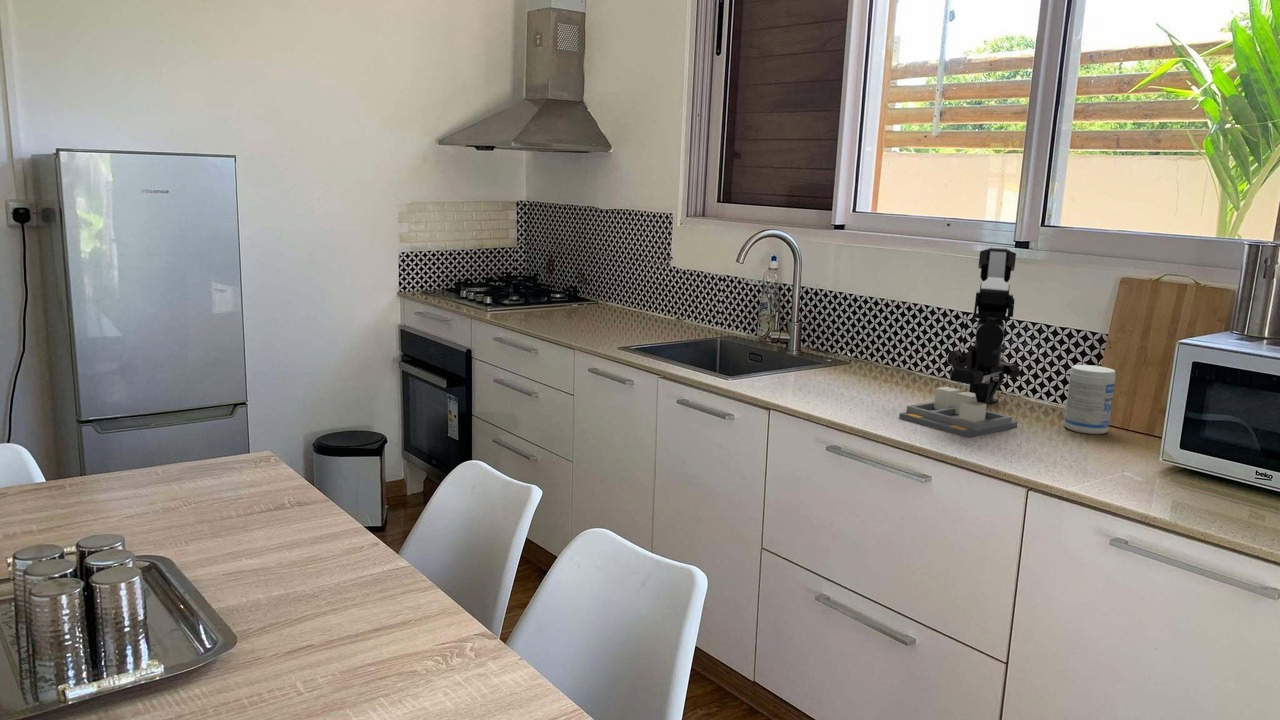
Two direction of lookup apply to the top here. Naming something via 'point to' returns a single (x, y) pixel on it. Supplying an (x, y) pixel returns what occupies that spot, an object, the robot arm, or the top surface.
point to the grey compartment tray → (956, 420)
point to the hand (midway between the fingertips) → (981, 409)
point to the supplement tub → (1089, 399)
